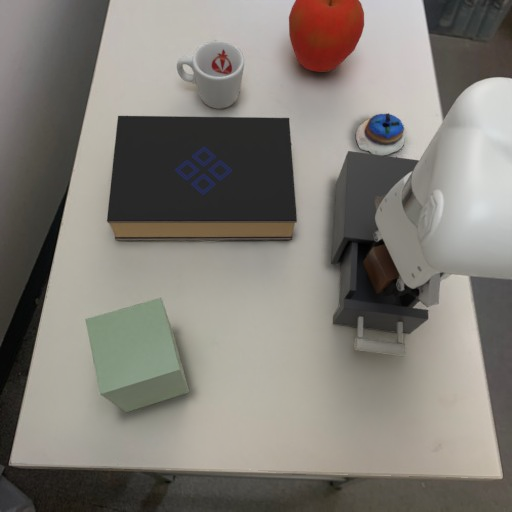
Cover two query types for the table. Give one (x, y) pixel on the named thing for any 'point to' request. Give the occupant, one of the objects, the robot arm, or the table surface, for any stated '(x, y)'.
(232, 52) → the cup
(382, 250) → the block
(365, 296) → the drawer
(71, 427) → the table surface
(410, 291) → the robot arm
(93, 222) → the table surface
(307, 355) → the table surface
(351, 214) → the cabinet
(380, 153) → the dessert
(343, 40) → the apple
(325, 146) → the table surface
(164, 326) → the block
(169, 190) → the book
